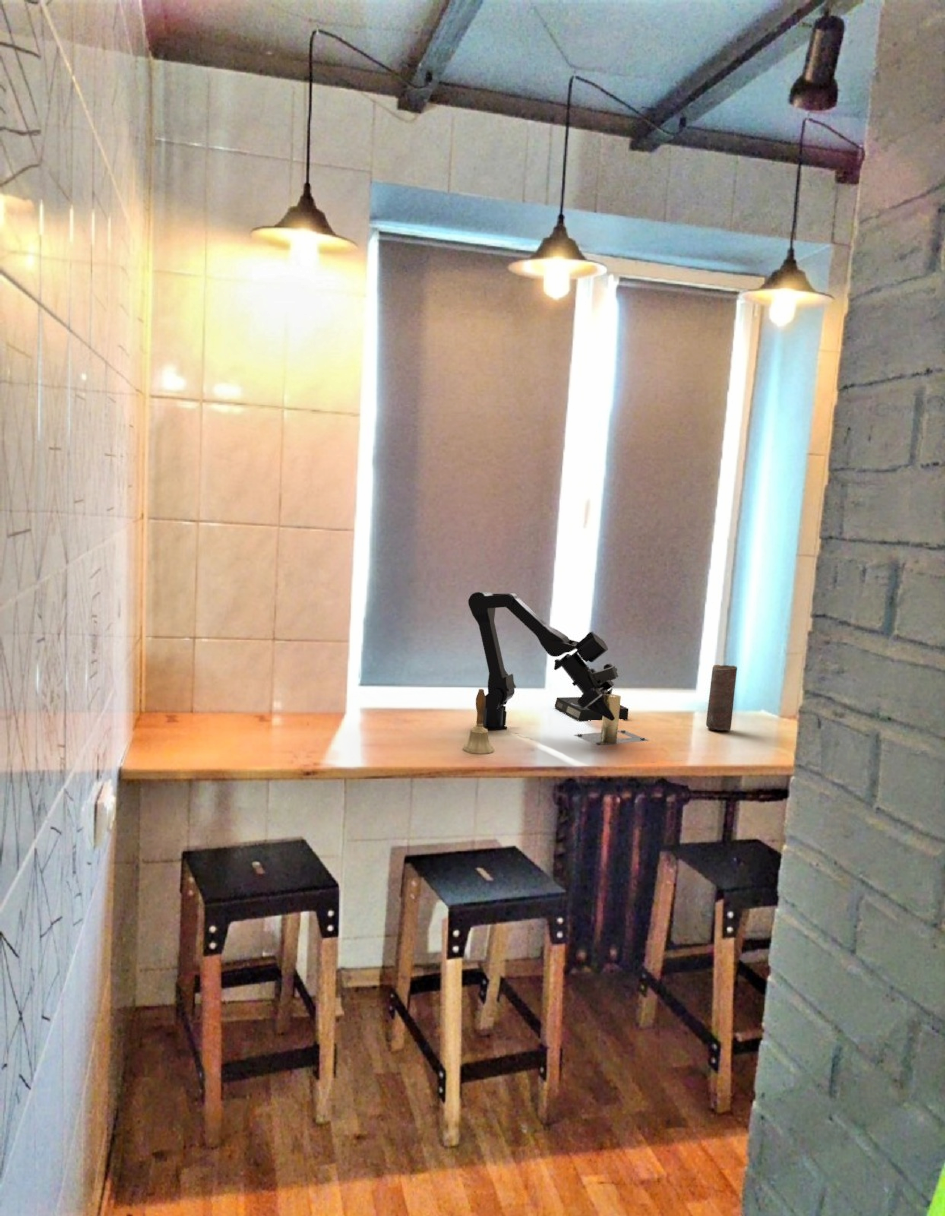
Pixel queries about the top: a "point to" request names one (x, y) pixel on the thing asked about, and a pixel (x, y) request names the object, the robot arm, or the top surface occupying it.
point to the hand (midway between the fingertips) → (615, 718)
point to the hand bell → (479, 730)
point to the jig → (596, 739)
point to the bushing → (608, 726)
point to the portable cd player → (574, 710)
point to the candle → (721, 697)
